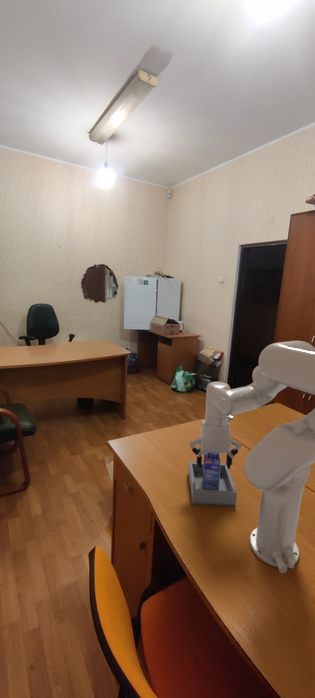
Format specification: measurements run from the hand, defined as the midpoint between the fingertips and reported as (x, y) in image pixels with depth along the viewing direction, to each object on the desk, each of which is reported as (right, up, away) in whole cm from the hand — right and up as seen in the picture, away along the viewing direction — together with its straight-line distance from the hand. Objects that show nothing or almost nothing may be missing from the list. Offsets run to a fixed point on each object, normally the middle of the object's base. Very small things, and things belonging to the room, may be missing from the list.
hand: (213, 466), depth 102 cm
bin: (-1, -9, +3) cm, 9 cm away
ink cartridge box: (-1, -9, +3) cm, 9 cm away
